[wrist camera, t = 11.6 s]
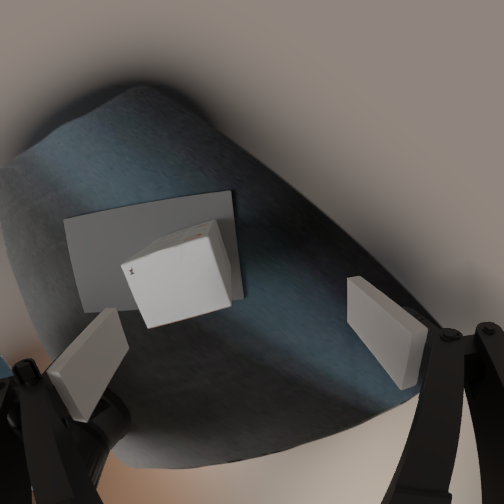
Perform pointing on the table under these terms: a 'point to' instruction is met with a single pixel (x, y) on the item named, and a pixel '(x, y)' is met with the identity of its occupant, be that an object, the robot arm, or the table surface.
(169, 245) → the small box
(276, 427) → the table surface
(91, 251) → the mat
